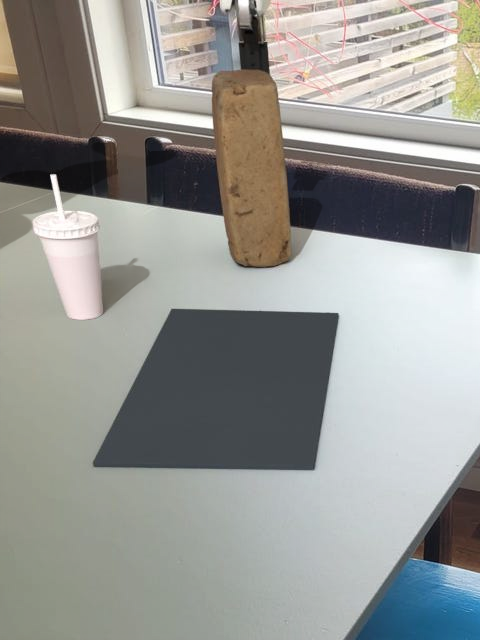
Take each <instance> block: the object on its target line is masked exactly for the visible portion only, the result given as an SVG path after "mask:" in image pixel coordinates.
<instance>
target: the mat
mask: <svg viewBox="0 0 480 640" xmlns="http://www.w3.org/2000/svg"><path fill="white" fill-rule="evenodd" d="M339 316H340V315H339V312H319V311H318V312H317V311H316V312H315V311H283V310H282V311H276V310H246V309H245V310H241V309H234V310H233V309H203V308H171V309H170V311H169V313H168V315H167V317H166V319H165V321H164V322H163V325H162V326H161V329H160V330H159V332H158V334H157V336H156V338H155V340H154V342H153V344H152V346H151V348H150V349H149V352H148V354H147V356H146V358H145V360H144V362H143V363H142V366H141V367H140V370H139V371H138V373H137V375H136V377H135V379H134V381H133V383H132V385H131V387H130V389H129V391H128V393H127V395H126V397H125V399H124V401H123V403H122V404H121V407H120V409H119V411H118V412H117V414H116V416H115V418H114V420H113V422H112V424H111V426H110V428H109V430H108V432H107V433H106V436H105V438H104V440H103V441H102V443H101V445H100V448H99V449H98V451H97V453H96V455H95V457H94V459H93V461H92V466H93V467H98V468H154V469H155V468H156V469H157V468H159V469H160V468H161V469H162V468H166V469H167V468H168V469H169V468H170V469H222V470H223V469H225V470H226V469H227V470H228V469H229V470H285V471H287V470H288V471H289V470H290V471H291V470H295V471H296V470H297V471H299V470H300V471H314V470H315V465H316V459H317V453H318V446H319V440H320V435H321V429H322V423H323V422H322V421H323V415H324V409H325V403H326V398H327V397H326V396H327V391H328V385H329V379H330V378H329V377H330V372H331V365H332V360H333V353H334V348H335V341H336V336H337V335H336V334H337V329H338V323H339Z"/></svg>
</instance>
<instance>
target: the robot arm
mask: <svg viewBox="0 0 480 640" xmlns="http://www.w3.org/2000/svg"><path fill="white" fill-rule="evenodd" d="M271 4H272V0H219V9H220V11H221V12H222V14H224V15H229V14H230V13H231V12H232V11H233V10H235V19H236V26H237V34H238V41H239V42H237V44H238V52H239V64H240V70H262V71H264V72H267V73H269V74H270V75H271V71H270V58H269V57H270V56H269V47H268V46H269V45H268V41H267V34H266V33H267V32H266V17H265V12H266V11H267V10H268V9H269V7H270V6H271Z"/></svg>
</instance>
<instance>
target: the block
mask: <svg viewBox="0 0 480 640" xmlns="http://www.w3.org/2000/svg"><path fill="white" fill-rule="evenodd" d="M280 105H281V104H280V101H279V92H278V86H277V83H276V81H275V79H274V78H273V77H272V75H271V73H270V74H269V73H267V72H264V71H262V70H241V69H234V70H220V71H218V72H217V73H215V75H213V77H212V81H211V113H212V129H213V139H214V148H215V150H214V151H215V159H216V160H215V161H216V168H217V178H218V185H219V195H220V202H221V208H222V215H223V223H224V229H225V234H226V238H227V245H228V251H229V254H230V256H231V259H232V260H233V261H234V262H235V263H236V264H239V265H242V266H243V267H255V268H266V267H267V268H268V267H276V266H278V265H280V264H283V263H285V262H287V261H288V260H290V259H291V256H292V235H291V234H292V233H291V232H292V231H291V216H290V200H289V188H288V175H287V166H286V165H287V164H286V156H285V155H286V154H285V148H284V147H285V145H284V144H285V143H284V136H283V126H282V118H281V117H282V116H281V106H280Z"/></svg>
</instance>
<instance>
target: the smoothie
mask: <svg viewBox="0 0 480 640" xmlns="http://www.w3.org/2000/svg"><path fill="white" fill-rule="evenodd" d="M49 176H50V180H51V181H50V182H51V187H52V191H53V195H54V200H55V204H56V209H57V211H50V212H46V213H42V214H40V215H37V216H36V217H35V218H33V219H32V226H33V232H34V233H35V235H37V236H38V238H39V241H40V243H41V246H42V249H43V252H44V255H45V257H46V261H47V263H48V266H49V269H50V271H51V274H52V277H53V280H54V283H55V286H56V288H57V291H58V294H59V298H60V300H61V303H62V306H63V308H64V311H65V314H66V316H67V317H68V318H69V319H72V320H77V321H85V320H92V319H96V318H99V317H101V316H102V315H103V314H104V307H103V306H104V305H103V291H102V277H101V263H100V246H99V236H98V235H99V233H98V232H99V231H100V230H101V225H100V222H99V217H98V216H97V215H96V214H93V213H91V212H88V211H82V210H64V206H63V201H62V197H61V196H62V195H61V191H60V186H59V181H58V176H57V174H55V173H53V174H52V173H51V174H50V175H49Z"/></svg>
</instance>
